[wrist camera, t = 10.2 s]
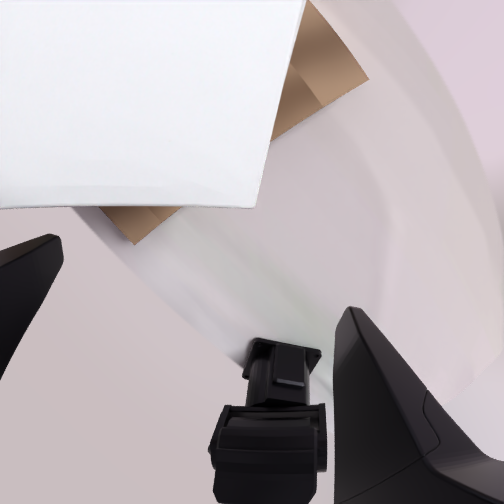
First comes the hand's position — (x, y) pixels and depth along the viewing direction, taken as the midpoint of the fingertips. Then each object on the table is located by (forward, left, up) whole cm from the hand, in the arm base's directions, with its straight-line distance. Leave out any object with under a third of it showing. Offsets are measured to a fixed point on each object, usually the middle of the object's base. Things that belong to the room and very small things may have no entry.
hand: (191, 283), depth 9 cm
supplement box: (+6, +7, -11) cm, 14 cm away
